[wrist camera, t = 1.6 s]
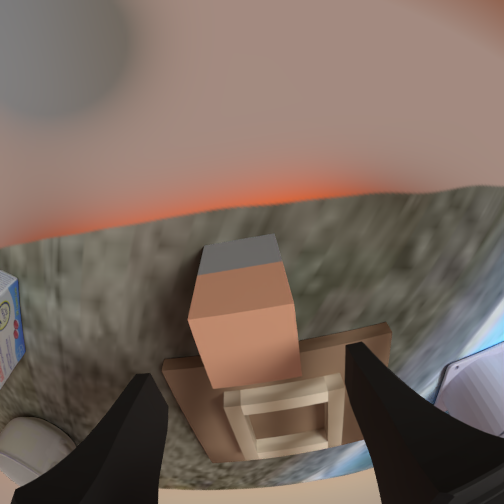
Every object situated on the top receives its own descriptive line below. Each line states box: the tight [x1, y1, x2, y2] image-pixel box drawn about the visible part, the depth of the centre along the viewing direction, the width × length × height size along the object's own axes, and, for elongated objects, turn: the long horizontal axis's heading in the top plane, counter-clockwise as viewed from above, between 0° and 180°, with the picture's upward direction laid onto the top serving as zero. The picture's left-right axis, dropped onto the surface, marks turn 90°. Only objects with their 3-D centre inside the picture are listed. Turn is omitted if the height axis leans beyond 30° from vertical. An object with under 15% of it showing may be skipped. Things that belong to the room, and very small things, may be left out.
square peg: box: [188, 234, 302, 389], centre depth 16 cm, size 4×4×7 cm
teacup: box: [0, 417, 76, 487], centre depth 23 cm, size 14×11×8 cm
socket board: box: [162, 322, 392, 463], centre depth 23 cm, size 16×14×3 cm
